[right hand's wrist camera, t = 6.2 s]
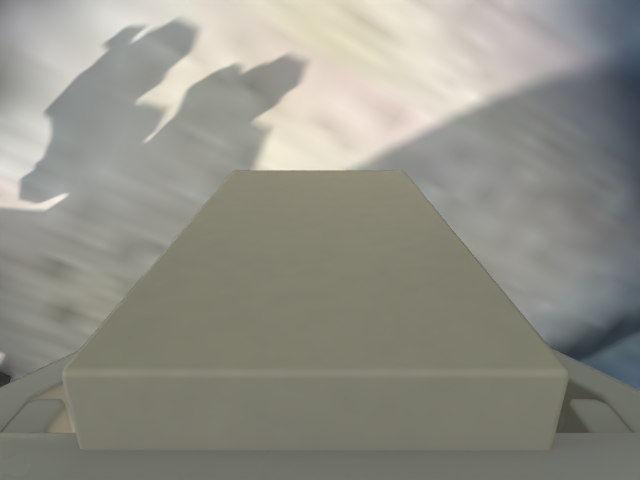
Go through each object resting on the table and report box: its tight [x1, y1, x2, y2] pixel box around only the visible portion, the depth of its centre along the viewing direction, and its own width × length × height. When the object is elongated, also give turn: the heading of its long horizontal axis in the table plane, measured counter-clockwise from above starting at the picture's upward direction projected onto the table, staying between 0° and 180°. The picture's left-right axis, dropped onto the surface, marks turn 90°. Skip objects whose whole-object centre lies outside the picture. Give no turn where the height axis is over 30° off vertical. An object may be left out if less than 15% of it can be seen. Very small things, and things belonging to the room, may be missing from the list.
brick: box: [62, 171, 569, 451], centre depth 10 cm, size 5×6×10 cm
